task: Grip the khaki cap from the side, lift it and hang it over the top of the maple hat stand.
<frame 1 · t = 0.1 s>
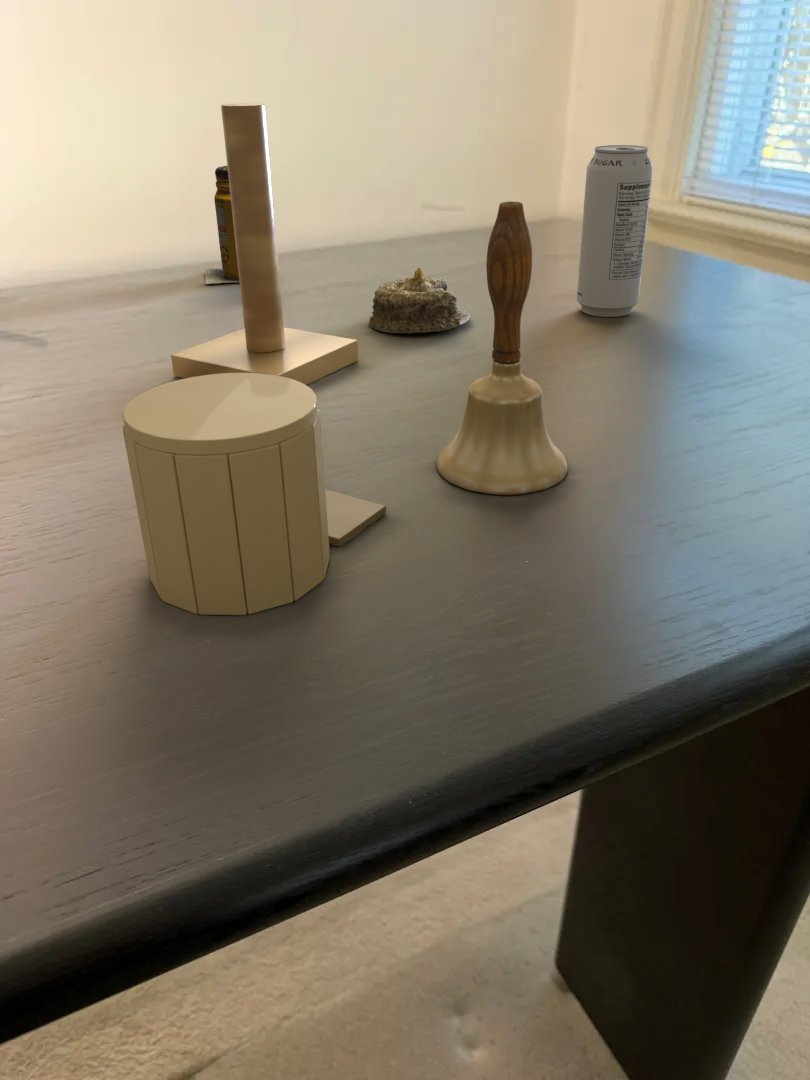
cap: (241, 566, 46), on the table
hat stand: (268, 368, 75), on the table
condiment: (241, 278, 105), on the table
energy drink can: (606, 312, 89), on the table
hand bell: (501, 469, 57), on the table
cake: (419, 325, 86), on the table
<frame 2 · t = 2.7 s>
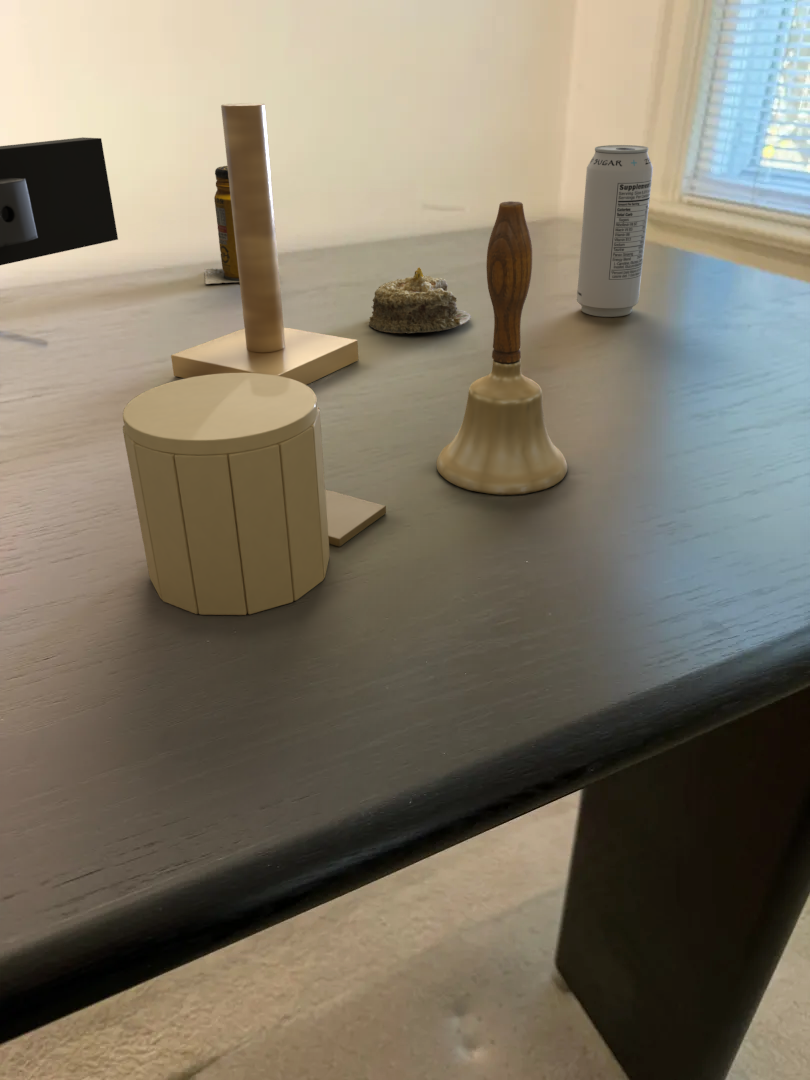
nothing on the table moved.
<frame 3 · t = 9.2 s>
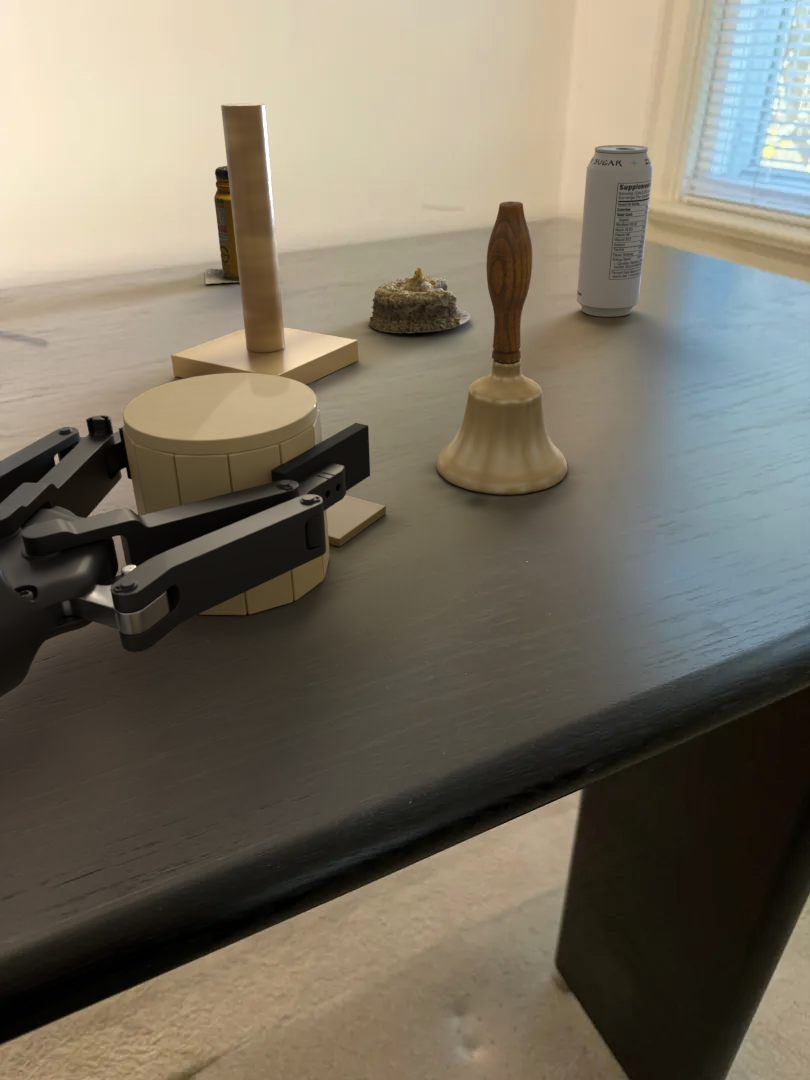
hand: (287, 430, 47), 6 cm above the table, tool horizontal, fingers closed on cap, 9 cm apart
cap: (241, 567, 46), on the table, touching gripper
everything else where it was.
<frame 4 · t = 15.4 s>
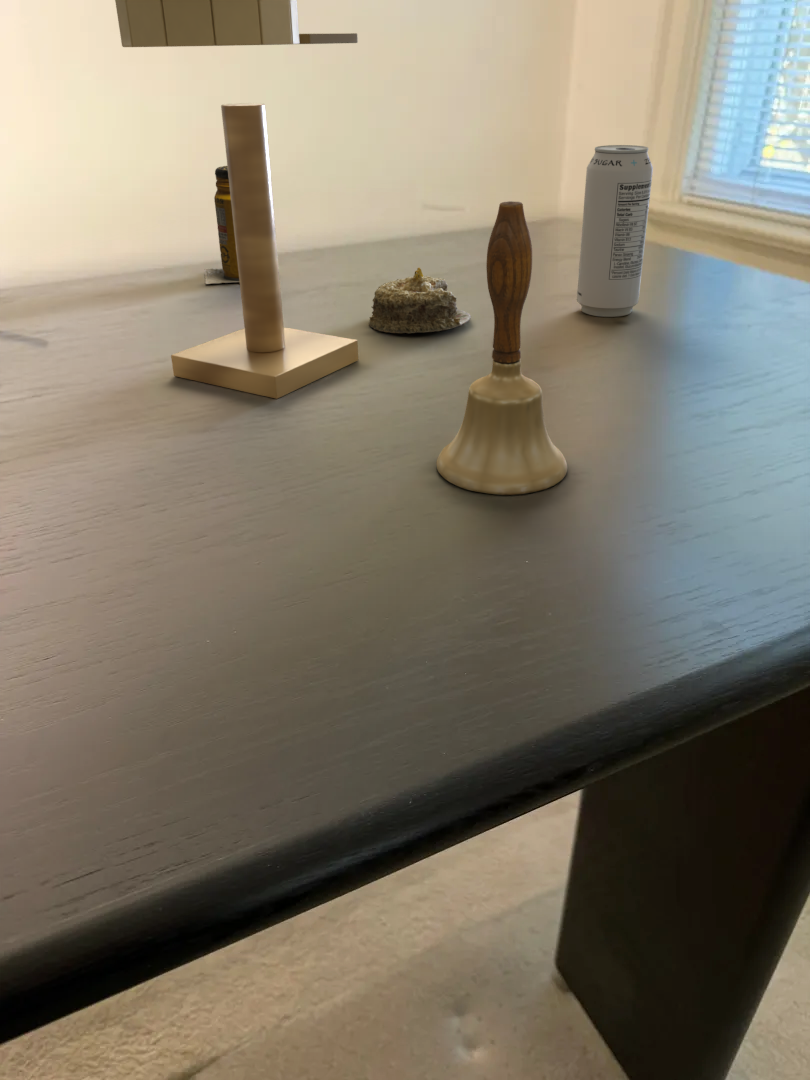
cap: (212, 45, 47), point 24 cm above the table, touching gripper
everything else where it was.
when the fingers open (18 cm above the table, at t = 21.6 s): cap stays where it is, resting on hat stand.
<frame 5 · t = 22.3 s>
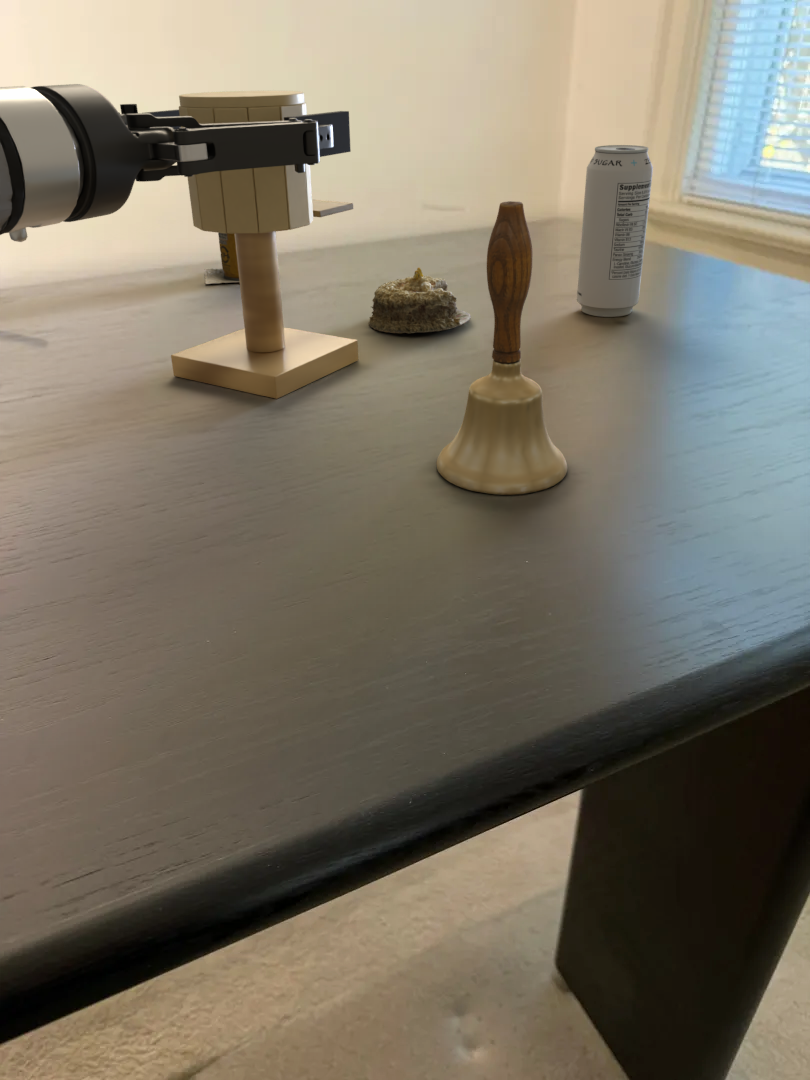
hand: (274, 128, 68), 18 cm above the table, tool horizontal, fingers open, 13 cm apart
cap: (254, 222, 69), point 12 cm above the table, touching hat stand
everything else where it was.
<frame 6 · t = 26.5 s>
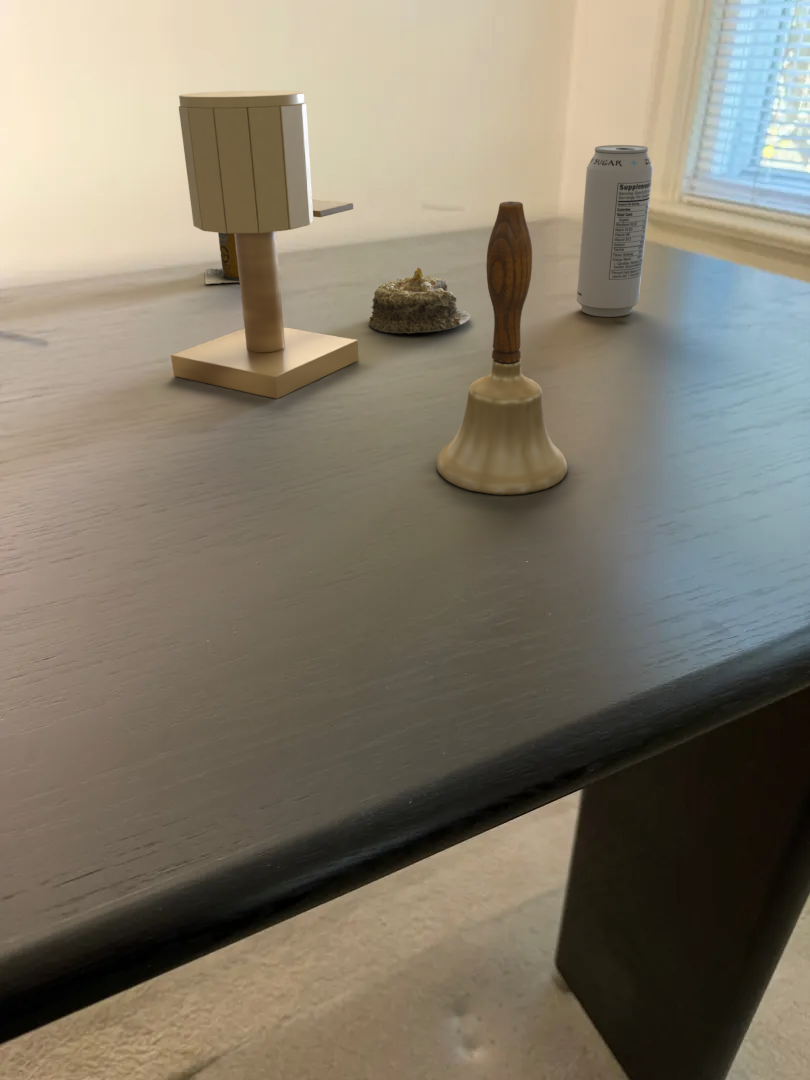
nothing on the table moved.
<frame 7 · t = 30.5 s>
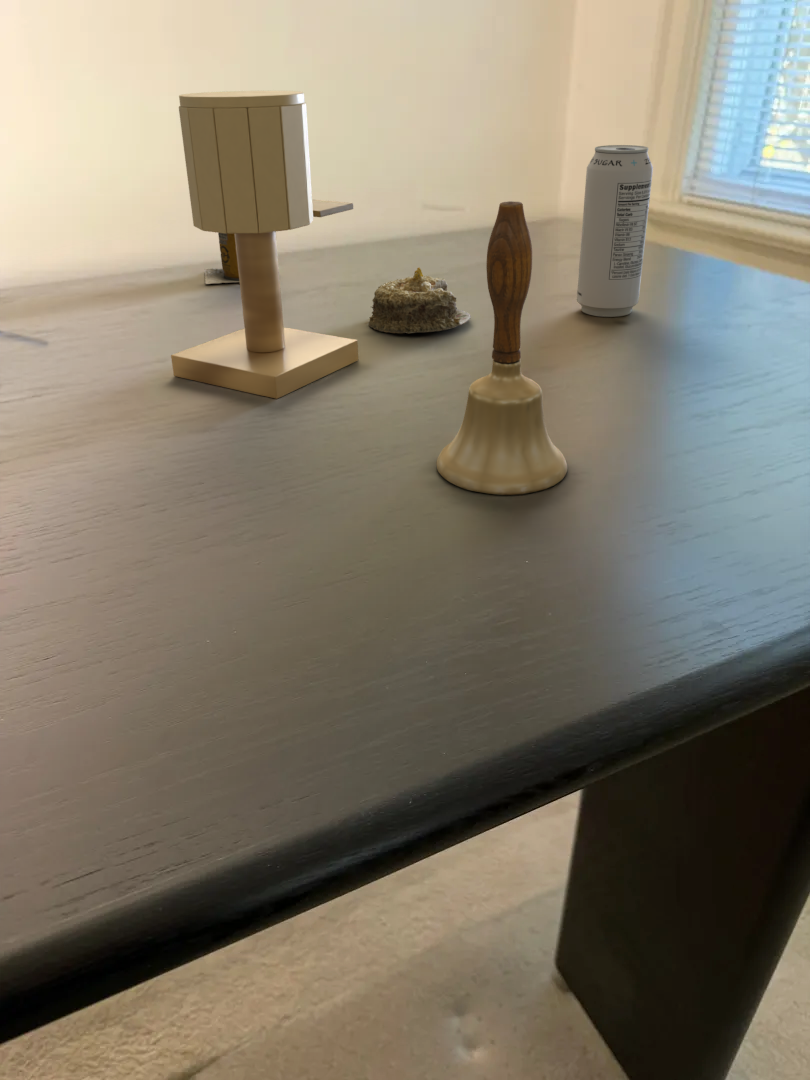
nothing on the table moved.
at the end: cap 0.0 cm off-centre on the hat stand, point 11.7 cm above the hat stand's base; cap tilted 0°; the gripper is holding nothing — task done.
